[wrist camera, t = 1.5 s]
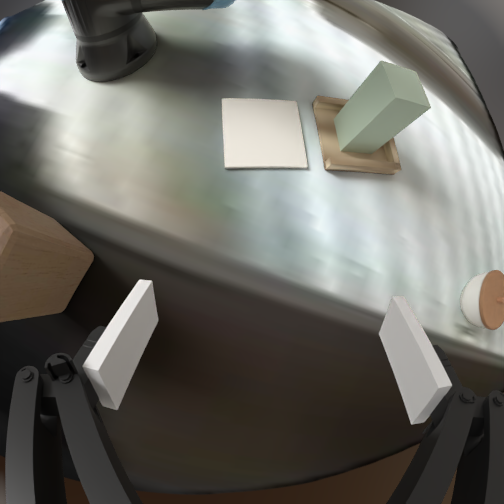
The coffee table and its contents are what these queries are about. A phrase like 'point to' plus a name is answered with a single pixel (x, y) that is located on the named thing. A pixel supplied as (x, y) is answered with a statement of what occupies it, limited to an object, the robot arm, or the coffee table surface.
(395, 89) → the tall block
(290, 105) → the pad
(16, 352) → the coffee table surface
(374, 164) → the shallow wooden tray
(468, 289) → the lidded jar
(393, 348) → the robot arm
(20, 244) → the block
